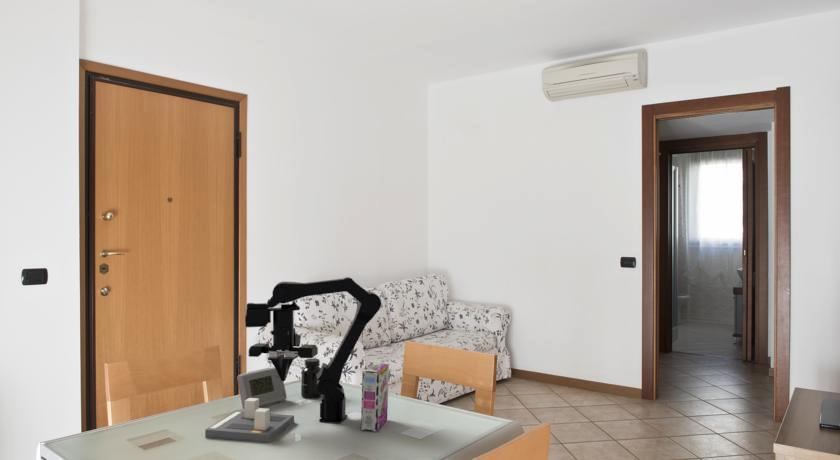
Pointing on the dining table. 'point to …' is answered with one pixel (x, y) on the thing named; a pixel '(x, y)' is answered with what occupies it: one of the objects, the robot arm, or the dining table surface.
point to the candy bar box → (374, 397)
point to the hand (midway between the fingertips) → (283, 380)
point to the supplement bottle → (310, 379)
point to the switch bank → (248, 428)
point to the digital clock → (262, 386)
